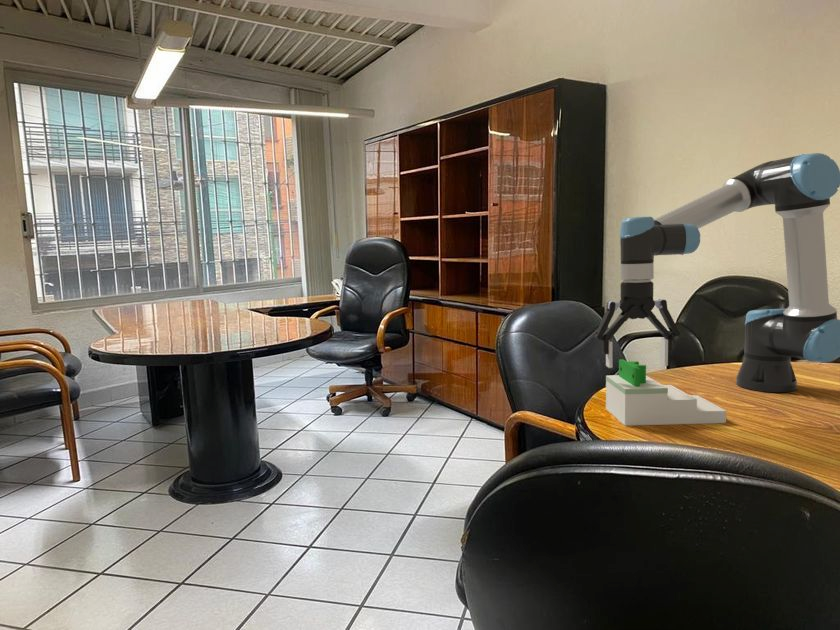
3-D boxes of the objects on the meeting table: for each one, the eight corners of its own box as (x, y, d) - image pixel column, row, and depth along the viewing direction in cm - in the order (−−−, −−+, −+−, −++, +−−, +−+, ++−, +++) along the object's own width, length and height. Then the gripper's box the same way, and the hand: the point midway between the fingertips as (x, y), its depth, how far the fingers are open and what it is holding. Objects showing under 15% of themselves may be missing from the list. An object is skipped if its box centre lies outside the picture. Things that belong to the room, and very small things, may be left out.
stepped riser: (696, 406, 143) (697, 372, 142) (725, 423, 129) (727, 386, 128) (605, 408, 144) (605, 375, 143) (624, 425, 130) (625, 389, 129)
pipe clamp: (650, 386, 130) (651, 368, 130) (635, 387, 131) (635, 368, 130) (633, 375, 142) (633, 358, 141) (618, 376, 142) (618, 358, 141)
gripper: (681, 277, 136) (679, 360, 139) (581, 282, 137) (582, 364, 139) (695, 279, 129) (694, 366, 131) (590, 284, 129) (590, 371, 132)
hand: (636, 365), depth 135 cm, fingers open, 13 cm apart
